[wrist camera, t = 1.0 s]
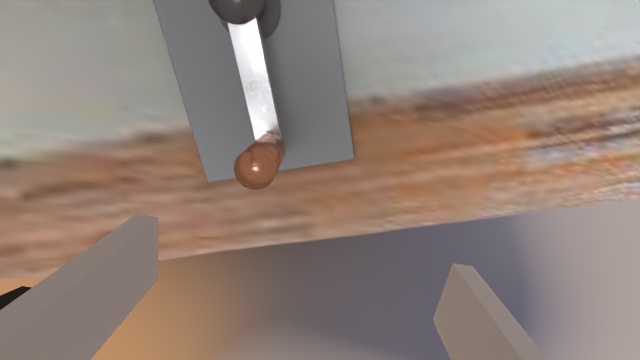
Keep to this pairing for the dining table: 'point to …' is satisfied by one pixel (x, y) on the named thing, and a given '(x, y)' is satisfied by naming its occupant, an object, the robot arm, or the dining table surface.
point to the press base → (286, 74)
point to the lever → (254, 92)
